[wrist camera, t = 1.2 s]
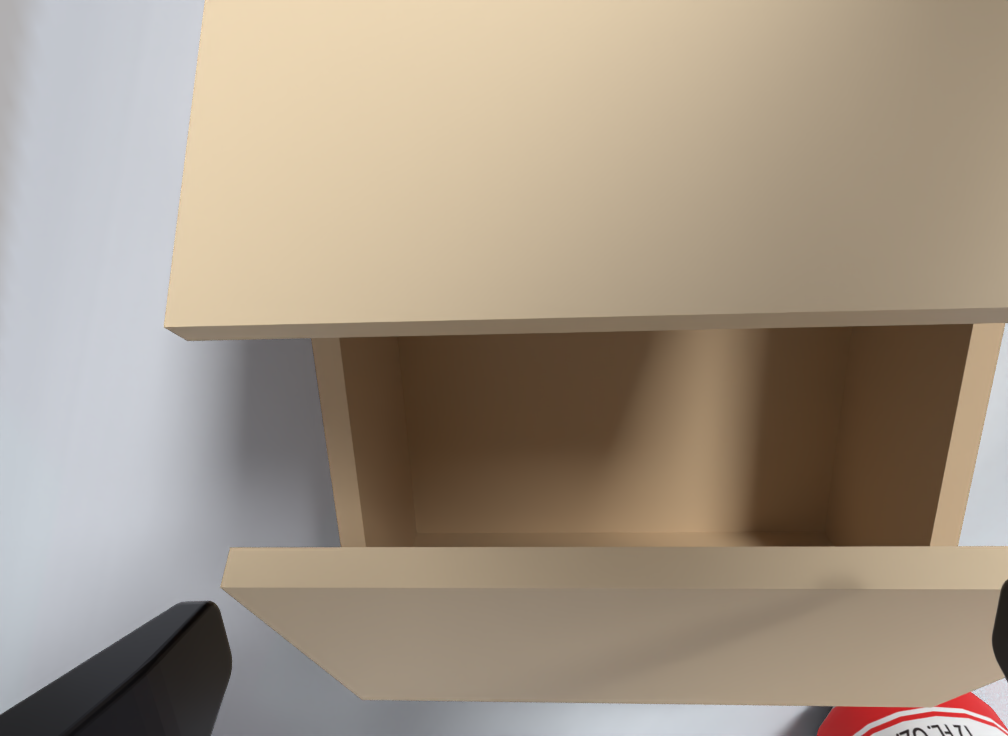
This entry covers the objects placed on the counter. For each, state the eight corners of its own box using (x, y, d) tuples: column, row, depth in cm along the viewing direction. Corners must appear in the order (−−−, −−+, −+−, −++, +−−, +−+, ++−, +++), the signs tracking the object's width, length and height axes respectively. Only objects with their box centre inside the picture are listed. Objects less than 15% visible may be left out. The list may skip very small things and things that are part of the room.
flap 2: (1195, 545, 10) (1220, 589, 9) (923, 679, 17) (931, 707, 17) (230, 547, 11) (219, 587, 10) (365, 674, 18) (361, 699, 18)
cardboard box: (928, -124, 16) (1125, -242, 11) (835, 537, 23) (929, 679, 17) (337, -87, 17) (237, -178, 12) (403, 538, 24) (358, 673, 18)
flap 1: (1115, -238, 11) (1147, -283, 10) (1277, 316, 9) (1328, 300, 8) (247, -175, 12) (231, -213, 11) (186, 341, 9) (163, 326, 9)
